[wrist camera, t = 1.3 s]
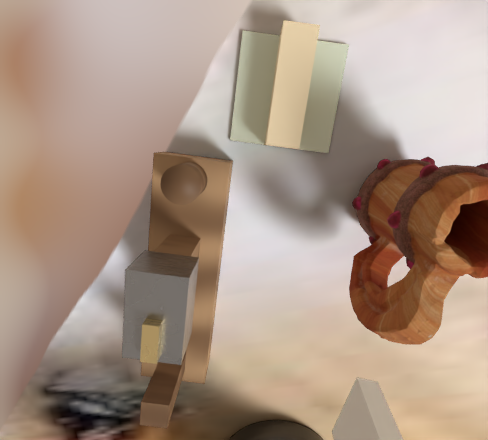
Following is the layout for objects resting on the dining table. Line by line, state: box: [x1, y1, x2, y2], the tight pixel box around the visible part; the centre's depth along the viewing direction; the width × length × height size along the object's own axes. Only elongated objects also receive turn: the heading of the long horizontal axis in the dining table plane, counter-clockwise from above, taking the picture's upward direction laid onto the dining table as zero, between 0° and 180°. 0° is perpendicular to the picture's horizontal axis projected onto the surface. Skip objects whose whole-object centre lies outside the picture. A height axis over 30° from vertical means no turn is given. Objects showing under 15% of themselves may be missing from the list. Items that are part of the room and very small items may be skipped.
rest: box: [230, 20, 349, 153], centre depth 29 cm, size 10×10×4 cm
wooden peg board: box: [140, 152, 233, 428], centre depth 30 cm, size 24×7×11 cm, turn 173°
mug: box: [349, 157, 488, 344], centre depth 26 cm, size 15×8×15 cm, turn 150°
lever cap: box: [122, 250, 199, 365], centre depth 24 cm, size 7×4×5 cm, turn 173°
